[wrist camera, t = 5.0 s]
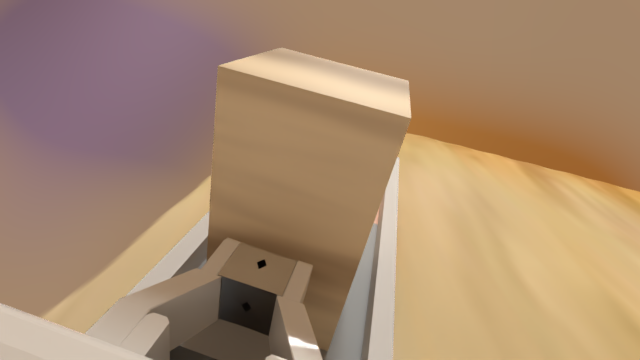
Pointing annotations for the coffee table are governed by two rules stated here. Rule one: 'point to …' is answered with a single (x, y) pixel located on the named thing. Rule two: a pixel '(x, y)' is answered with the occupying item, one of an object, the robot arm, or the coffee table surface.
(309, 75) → the block
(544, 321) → the coffee table surface
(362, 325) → the lane
